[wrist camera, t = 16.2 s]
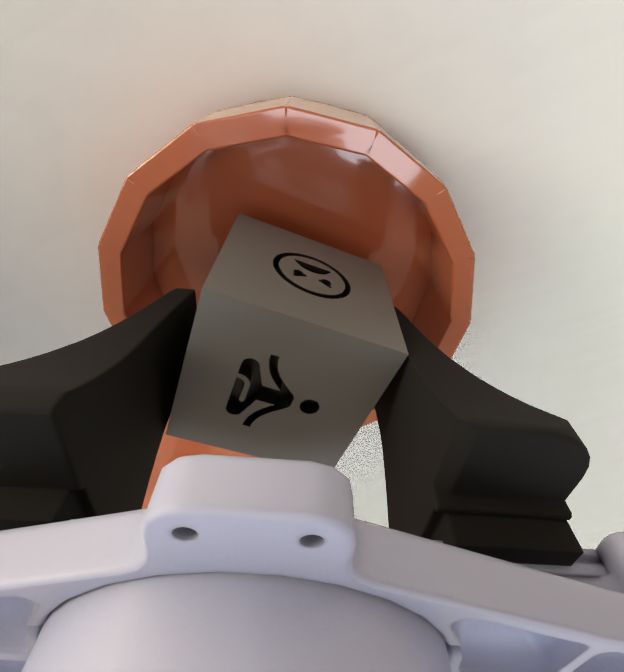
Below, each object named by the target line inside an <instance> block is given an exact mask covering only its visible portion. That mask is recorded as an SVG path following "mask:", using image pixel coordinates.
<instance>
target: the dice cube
mask: <svg viewBox="0 0 624 672" xmlns="http://www.w3.org/2000/svg"><path fill="white" fill-rule="evenodd" d="M408 355H409V354H408V351H407V348H406V344H405V341H404V338H403V335H402V332H401V328H400V325H399V322H398V319H397V315H396V312H395V309H394V306H393V302H392V299H391V296H390V293H389V290H388V286H387V283H386V280H385V277H384V273H383V270H382V267H381V265H379V264H377V263H374V262H371V261H368V260H366V259H363V258H360V257H358V256H355V255H352V254H349V253H347V252H344V251H341V250H338V249H336V248H333V247H330V246H328V245H325V244H322V243H319V242H317V241H314V240H311V239H309V238H306V237H303V236H300V235H298V234H295V233H292V232H290V231H287V230H284V229H281V228H279V227H276V226H273V225H271V224H268V223H265V222H262V221H260V220H257V219H254V218H252V217H249V216H246V215H243V214H241V213H239V214H238V216H237V218H236V220H235V222H234V224H233V226H232V228H231V230H230V232H229V234H228V236H227V238H226V240H225V243H224V245H223V247H222V249H221V251H220V253H219V255H218V257H217V259H216V261H215V263H214V265H213V267H212V269H211V271H210V273H209V275H208V277H207V279H206V281H205V283H204V285H203V287H202V290H201V294H200V298H199V302H198V306H197V310H196V314H195V318H194V322H193V326H192V330H191V334H190V338H189V342H188V346H187V350H186V354H185V358H184V362H183V366H182V370H181V374H180V378H179V382H178V386H177V390H176V394H175V398H174V402H173V406H172V410H171V414H170V418H169V422H168V426H167V430H166V435H170V436H174V437H178V438H182V439H186V440H190V441H194V442H198V443H203V444H207V445H211V446H215V447H219V448H223V449H227V450H231V451H235V452H239V453H243V454H247V455H251V456H255V457H259V458H271V459H286V460H301V461H312V462H316V463H320V464H324V465H329V466H332V467H335V466H336V464H337V462H338V461H339V459H340V458H341V456H342V455H343V453H344V452H345V450H346V449H347V447H348V446H349V444H350V443H351V441H352V440H353V438H354V437H355V435H356V434H357V432H358V431H359V429H360V428H361V426H362V424H363V423H364V421H365V420H366V418H367V417H368V415H369V414H370V412H371V411H372V409H373V408H374V406H375V405H376V403H377V402H378V400H379V399H380V397H381V396H382V394H383V393H384V391H385V389H386V388H387V386H388V385H389V383H390V382H391V380H392V379H393V377H394V376H395V374H396V373H397V371H398V370H399V368H400V367H401V365H402V364H403V362H404V361H405V359H406V358H407V356H408Z"/></svg>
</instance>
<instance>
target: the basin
mask: <svg viewBox="0 0 624 672" xmlns="http://www.w3.org/2000/svg"><path fill="white" fill-rule="evenodd" d="M239 213H241V214H243V215H246V216H249V217H252V218H254V219H257V220H260V221H262V222H265V223H268V224H271V225H273V226H276V227H279V228H281V229H284V230H287V231H290V232H292V233H295V234H298V235H300V236H303V237H306V238H309V239H311V240H314V241H317V242H319V243H322V244H325V245H328V246H330V247H333V248H336V249H338V250H341V251H344V252H347V253H349V254H352V255H355V256H358V257H360V258H363V259H366V260H368V261H371V262H374V263H377V264H379V265H381V267H382V270H383V273H384V277H385V280H386V283H387V286H388V290H389V293H390V296H391V299H392V302H393V306H394V307H397V308H398V309H399V310H400V311H401V312H402V313H403V314H404V315H405V316H406V317H407V318H408V319H409V321H410V322H411V323H412V324H413V325H414V326H415V327H416V328H417V329H418V330H419V331H420V332H421V333H422V334H423V335H424V336H425V337H426V338H428V339H429V340H430V341H431V342H432V343H433V344H434V345H435V346H436V347H437V348H439V349H440V350H441V351H442V352H443V353H444V354H446V355H447V356H448V357H449V358H452V356H453V354H454V352H455V350H456V348H457V347H458V345H459V343H460V341H461V339H462V337H463V336H464V334H465V332H466V330H467V328H468V326H469V325H470V320H471V309H472V294H473V279H474V264H475V257H474V251H473V249H472V246H471V244H470V242H469V239H468V237H467V235H466V232H465V230H464V228H463V225H462V223H461V220H460V218H459V216H458V213H457V211H456V209H455V206H454V204H453V202H452V199H451V197H450V195H449V192H448V190H447V188H446V187H445V185H444V184H443V183H442V182H441V181H440V180H439V179H438V178H437V177H436V176H435V175H434V174H433V173H432V172H431V171H430V170H429V169H428V168H427V167H426V166H425V165H424V164H423V163H422V162H421V161H420V160H419V159H418V158H416V157H415V156H414V155H413V154H412V153H411V152H409V151H408V150H407V149H406V148H405V147H404V146H402V145H401V144H400V143H399V142H398V141H397V140H396V139H395V138H393V137H392V136H391V135H389V134H388V133H387V132H386V131H385V130H384V129H382V128H381V127H380V126H379V125H378V124H377V123H375V122H374V121H373V120H372V119H371V118H369V117H367V116H366V115H363V114H359V113H355V112H351V111H347V110H344V109H341V108H338V107H335V106H332V105H329V104H323V103H318V102H313V101H309V100H306V99H302V98H298V97H291V96H289V97H284V98H279V99H274V100H269V101H262V102H255V103H251V104H247V105H244V106H239V107H234V108H229V109H224V110H219V111H216V112H214V113H212V114H210V115H209V116H207V117H205V118H203V119H201V120H199V121H197V122H196V123H194V124H192V125H190V126H189V127H188V128H187V129H185V130H184V131H183V132H182V133H180V134H179V135H178V136H177V137H175V138H174V139H173V140H172V141H170V142H169V143H168V144H167V145H165V146H164V147H163V148H162V149H160V150H159V151H158V152H157V153H155V154H154V155H153V156H151V157H150V158H149V159H148V160H146V161H145V162H144V163H143V164H141V165H140V166H139V167H138V168H136V169H135V170H134V171H133V172H131V173H130V174H129V175H128V177H127V178H126V179H125V182H124V184H123V186H122V189H121V191H120V194H119V196H118V198H117V201H116V203H115V206H114V208H113V210H112V213H111V215H110V217H109V220H108V222H107V225H106V227H105V229H104V232H103V234H102V237H101V239H100V241H99V246H98V251H99V262H100V274H101V285H102V297H103V309H104V311H105V314H106V316H107V318H108V320H109V322H110V323H111V325H112V326H113V325H115V324H117V323H119V322H121V321H122V320H124V319H126V318H128V317H130V316H131V315H133V314H135V313H137V312H138V311H140V310H141V309H143V308H145V307H146V306H148V305H149V304H151V303H153V302H154V301H156V300H157V299H159V298H160V297H162V296H164V295H165V294H167V293H168V292H170V291H172V290H174V289H175V288H183V289H194V290H195V293H196V305H197V306H198V302H199V298H200V294H201V290H202V287H203V285H204V283H205V281H206V279H207V277H208V275H209V273H210V271H211V269H212V267H213V265H214V263H215V261H216V259H217V257H218V255H219V253H220V251H221V249H222V247H223V245H224V243H225V240H226V238H227V236H228V234H229V232H230V230H231V228H232V226H233V224H234V222H235V220H236V218H237V216H238V214H239ZM375 421H377V415H376V411H375V406H374V408H373V409H372V411H371V412H370V414H369V415H368V417H367V418H366V420H365V421H364V423H363V424H362V426H365V425H367V424H370V423H372V422H375ZM362 426H361V427H362Z"/></svg>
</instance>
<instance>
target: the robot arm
mask: <svg viewBox="0 0 624 672" xmlns="http://www.w3.org/2000/svg"><path fill="white" fill-rule="evenodd" d="M394 309H395V312H396V315H397V319H398V322H399V325H400V328H401V332H402V335H403V338H404V341H405V344H406V348H407V351H408V354H409V355H408V356H407V358H406V359H405V361H404V362H403V364H402V365H401V367H400V368H399V370H398V371H397V373H396V374H395V376H394V377H393V379H392V380H391V382H390V383H389V385H388V386H387V388H386V389H385V391H384V393H383V394H382V396H381V397H380V399H379V400H378V402H377V403H376V405H375V411H376V415H377V420H378V425H379V429H380V434H381V440H382V448H383V458H384V468H385V480H386V492H387V506H388V522H389V528H387V527H383V526H380V525H376V524H373V523H369V522H366V521H362V520H358V519H355V518H354V508H353V496H352V490H351V484H350V480H349V479H348V478H347V477H345V476H344V475H343V474H342V473H340V472H339V471H338V470H337V469H335V468H334V467H332V466H329V465H324V464H320V463H316V462H312V461H301V460H286V459H271V458H256V457H241V456H226V455H211V454H200V455H191V456H182V457H178V458H177V459H175V460H174V461H172V462H170V463H169V464H167V465H166V466H164V467H163V468H162V470H161V472H160V475H159V478H158V480H157V483H156V486H155V488H154V491H153V494H152V496H151V499H150V502H149V504H148V507H147V509H142V506H143V502H144V499H145V495H146V491H147V487H148V484H149V480H150V477H151V473H152V470H153V466H154V463H155V459H156V456H157V453H158V450H159V446H160V443H161V440H162V437H163V434H164V430H165V428H166V425H167V422H168V420H169V417H170V414H171V410H172V406H173V402H174V398H175V394H176V390H177V386H178V382H179V378H180V374H181V370H182V366H183V362H184V358H185V354H186V350H187V346H188V342H189V338H190V334H191V330H192V326H193V322H194V318H195V314H196V310H197V305H196V293H195V290H194V289H183V288H175V289H174V290H172V291H170V292H168V293H167V294H165V295H164V296H162V297H160V298H159V299H157V300H156V301H154V302H153V303H151V304H149V305H148V306H146V307H145V308H143V309H141V310H140V311H138V312H137V313H135V314H133V315H131V316H130V317H128V318H126V319H124V320H122V321H121V322H119V323H117V324H115V325H113V326H112V327H110V328H108V329H106V330H104V331H102V332H100V333H97V334H95V335H93V336H91V337H88V338H86V339H84V340H81V341H79V342H76V343H74V344H71V345H68V346H65V347H62V348H60V349H57V350H54V351H51V352H48V353H45V354H42V355H39V356H35V357H32V358H29V359H25V360H21V361H17V362H14V363H10V364H6V365H1V366H0V672H624V532H616V533H613V534H610V535H608V536H607V537H605V538H604V539H603V540H602V541H601V542H600V544H599V545H598V547H597V548H596V550H593V549H582V548H581V546H580V544H579V542H578V541H577V539H576V537H575V535H574V533H573V531H572V530H571V528H570V526H569V524H568V522H567V520H570V518H571V517H572V513H571V511H570V509H569V508H568V506H567V504H566V502H565V500H566V498H567V497H568V496H569V495H570V493H571V492H572V491H573V489H574V488H575V487H576V486H577V484H578V483H579V482H580V481H581V479H582V478H583V476H584V474H585V473H586V471H587V469H588V467H589V461H590V456H589V453H588V450H587V448H586V447H585V445H584V444H583V442H582V441H581V439H580V438H579V436H578V435H577V433H576V432H575V431H574V429H573V428H572V426H571V425H570V423H569V422H568V421H567V420H565V419H562V418H560V417H558V416H555V415H553V414H550V413H548V412H545V411H543V410H540V409H538V408H535V407H533V406H530V405H528V404H526V403H524V402H522V401H520V400H518V399H516V398H514V397H511V396H509V395H508V394H506V393H504V392H502V391H500V390H498V389H496V388H494V387H493V386H491V385H489V384H488V383H486V382H484V381H483V380H481V379H479V378H478V377H476V376H475V375H473V374H471V373H470V372H468V371H467V370H466V369H464V368H463V367H461V366H460V365H459V364H457V363H456V362H454V361H453V360H452V359H451V358H449V357H448V356H447V355H446V354H444V353H443V352H442V351H441V350H440V349H439V348H437V347H436V346H435V345H434V344H433V343H432V342H431V341H430V340H429V339H428V338H426V337H425V336H424V335H423V334H422V333H421V332H420V331H419V330H418V329H417V328H416V327H415V326H414V325H413V324H412V323H411V322H410V321H409V319H408V318H407V317H406V316H405V315H404V314H403V313H402V312H401V311H400V310H399V309H398V308H397V307H394Z"/></svg>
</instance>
